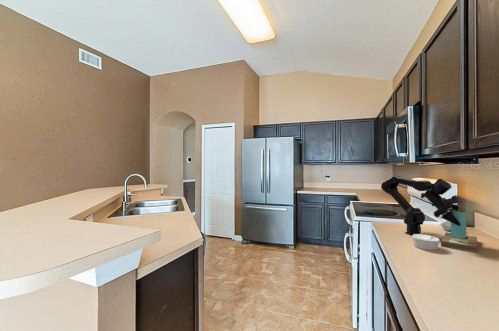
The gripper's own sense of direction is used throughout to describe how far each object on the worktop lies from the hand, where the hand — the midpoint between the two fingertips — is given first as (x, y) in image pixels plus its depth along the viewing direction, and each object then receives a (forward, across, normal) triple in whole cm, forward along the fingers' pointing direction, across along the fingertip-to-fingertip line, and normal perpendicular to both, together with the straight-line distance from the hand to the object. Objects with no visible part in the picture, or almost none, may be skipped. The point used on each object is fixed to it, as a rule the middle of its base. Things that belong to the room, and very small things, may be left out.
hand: (461, 224), depth 120 cm
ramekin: (+2, -16, +15) cm, 22 cm away
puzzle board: (+6, +5, +10) cm, 13 cm away
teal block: (+4, 0, +6) cm, 7 cm away
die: (-3, +31, +20) cm, 37 cm away
